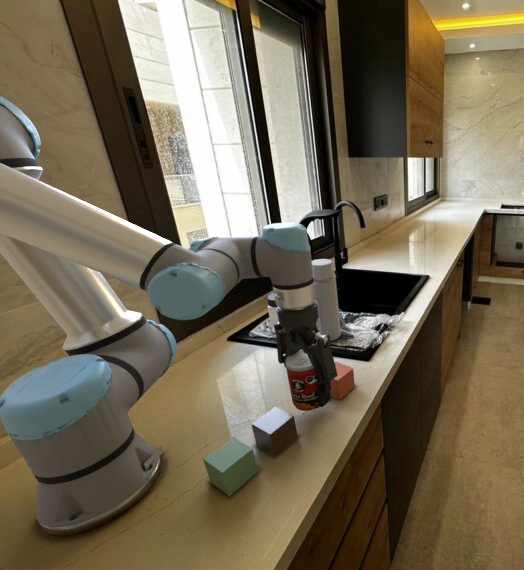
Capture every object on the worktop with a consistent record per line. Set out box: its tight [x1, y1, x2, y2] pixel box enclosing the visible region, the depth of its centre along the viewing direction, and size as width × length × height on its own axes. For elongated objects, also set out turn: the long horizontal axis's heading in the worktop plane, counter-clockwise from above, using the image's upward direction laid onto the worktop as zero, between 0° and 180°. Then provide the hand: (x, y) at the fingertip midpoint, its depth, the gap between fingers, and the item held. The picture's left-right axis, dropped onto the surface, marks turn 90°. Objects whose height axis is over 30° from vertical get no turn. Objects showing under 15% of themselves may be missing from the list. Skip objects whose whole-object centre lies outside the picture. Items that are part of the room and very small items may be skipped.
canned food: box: [285, 348, 321, 412], centre depth 70 cm, size 8×8×11 cm
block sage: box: [202, 436, 259, 497], centre depth 57 cm, size 6×6×6 cm
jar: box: [266, 292, 279, 334], centre depth 107 cm, size 9×8×12 cm
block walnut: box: [250, 405, 298, 457], centre depth 65 cm, size 6×6×6 cm
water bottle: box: [312, 258, 342, 342], centre depth 99 cm, size 9×8×25 cm
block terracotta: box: [330, 361, 356, 400], centre depth 80 cm, size 6×6×6 cm
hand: (311, 396), depth 72 cm, fingers closed on canned food, 8 cm apart
